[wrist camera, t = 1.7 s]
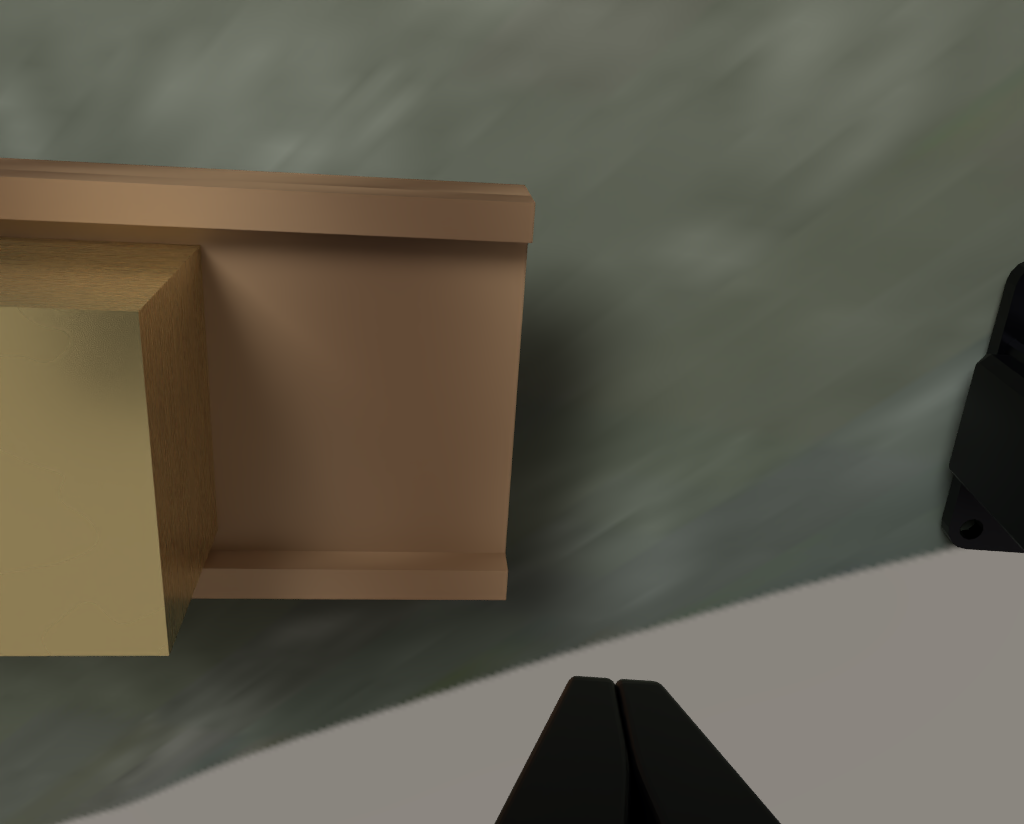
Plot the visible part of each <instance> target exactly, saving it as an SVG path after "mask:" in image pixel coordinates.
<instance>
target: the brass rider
mask: <svg viewBox="0 0 1024 824" xmlns="http://www.w3.org/2000/svg"><path fill="white" fill-rule="evenodd" d="M217 531H218V522H217V506H216V490H215V473H214V457H213V441H212V424H211V408H210V392H209V375H208V359H207V343H206V327H205V310H204V294H203V278H202V261H201V245H184V244H161V243H138V242H115V241H92V240H69V239H45V238H22V237H0V656H169V655H170V652H171V649H172V647H173V644H174V642H175V639H176V637H177V634H178V631H179V629H180V626H181V624H182V621H183V619H184V616H185V614H186V611H187V608H188V606H189V603H190V601H191V598H192V596H193V593H194V590H195V588H196V585H197V583H198V580H199V578H200V575H201V572H202V570H203V567H204V565H205V562H206V560H207V557H208V555H209V552H210V549H211V547H212V544H213V542H214V539H215V537H216V534H217Z"/></svg>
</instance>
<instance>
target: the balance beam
mask: <svg viewBox="0 0 1024 824" xmlns="http://www.w3.org/2000/svg"><path fill="white" fill-rule="evenodd" d="M534 214H535V202H534V200H533V198H532V197H531V195H530V193H529V192H528V190H527V188H526V187H525V185H515V184H495V183H476V182H457V181H437V180H418V179H399V178H379V177H360V176H341V175H321V174H302V173H283V172H263V171H244V170H225V169H205V168H186V167H167V166H147V165H128V164H109V163H89V162H70V161H51V160H31V159H12V158H0V237H22V238H45V239H69V240H92V241H115V242H138V243H161V244H184V245H201V261H202V278H203V294H204V310H205V327H206V343H207V359H208V375H209V392H210V408H211V424H212V441H213V457H214V473H215V490H216V506H217V522H218V531H217V534H216V537H215V539H214V542H213V544H212V547H211V549H210V552H209V555H208V557H207V560H206V562H205V565H204V567H203V570H202V572H201V575H200V578H199V580H198V583H197V585H196V588H195V590H194V593H193V596H192V598H201V599H399V600H506V592H507V579H508V567H507V561H506V554H505V550H506V536H507V523H508V509H509V495H510V481H511V467H512V453H513V439H514V425H515V412H516V398H517V384H518V370H519V356H520V342H521V328H522V315H523V301H524V287H525V273H526V259H527V245H528V243H532V241H533V228H534Z"/></svg>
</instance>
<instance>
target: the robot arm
mask: <svg viewBox="0 0 1024 824" xmlns="http://www.w3.org/2000/svg"><path fill="white" fill-rule="evenodd" d="M949 468H950V470H951V471H952V472H953V474H954V476H953V480H952V484H951V487H950V491H949V495H948V498H947V502H946V506H945V510H944V513H943V517H942V529H943V531H944V533H945V534H946V536H947V537H948V538H949V539H950V541H951V542H952V543H953V544H955V545H956V546H957V547H960V548H964V549H973V550H988V551H1003V552H1018V553H1024V262H1022V263H1020V264H1018V265H1017V266H1016V267H1015V268H1014V269H1013V270H1012V271H1011V273H1010V275H1009V277H1008V279H1007V281H1006V285H1005V289H1004V292H1003V296H1002V300H1001V303H1000V307H999V311H998V314H997V318H996V322H995V325H994V329H993V333H992V336H991V340H990V344H989V348H988V351H987V355H986V356H984V357H983V358H982V359H981V360H980V361H979V362H978V363H977V364H976V366H975V370H974V374H973V377H972V381H971V385H970V389H969V392H968V396H967V400H966V404H965V407H964V411H963V415H962V418H961V422H960V426H959V430H958V433H957V437H956V441H955V445H954V448H953V452H952V456H951V459H950V463H949ZM972 519H975V523H974V525H973V526H972V527H971V528H969V529H968V530H962V531H961V530H960V528H961V526H962V524H963V523H965V522H966V521H968V520H972ZM495 824H781V823H779V821H778V820H777V819H776V818H775V816H774V815H773V814H772V813H771V812H770V811H769V809H768V808H767V807H766V806H765V805H764V804H763V802H762V801H761V800H760V799H759V798H758V797H757V795H756V794H755V793H754V792H753V791H752V790H751V788H750V787H749V786H748V785H747V784H746V783H745V781H744V780H743V779H742V778H741V777H740V776H739V774H738V773H737V772H736V771H735V770H734V769H733V767H732V766H731V765H730V764H729V763H728V762H727V761H726V759H725V758H724V757H723V756H722V755H721V753H720V752H719V751H718V750H717V749H716V748H715V746H714V745H713V744H712V743H711V742H710V741H709V739H708V738H707V737H706V736H705V735H704V733H703V732H702V731H701V730H700V729H699V728H698V726H697V725H696V724H695V723H694V722H693V721H692V720H691V718H690V717H689V716H688V715H687V714H686V712H685V711H684V710H683V709H682V708H681V707H680V705H679V704H678V703H677V702H676V701H675V700H674V698H672V696H671V695H670V694H669V693H668V692H667V690H666V689H665V688H664V687H663V686H662V685H661V684H659V683H658V682H654V681H644V680H628V679H621V680H619V681H617V683H616V684H614V683H613V681H612V680H610V679H608V678H598V677H582V676H574V677H572V678H571V679H570V680H569V681H568V683H567V685H566V687H565V689H564V691H563V693H562V695H561V696H560V698H559V700H558V702H557V704H556V706H555V708H554V710H553V712H552V714H551V716H550V718H549V720H548V722H547V723H546V726H545V727H544V730H543V731H542V733H541V735H540V737H539V739H538V741H537V743H536V745H535V747H534V749H533V751H532V752H531V755H530V756H529V759H528V760H527V762H526V764H525V766H524V768H523V770H522V772H521V774H520V776H519V778H518V780H517V782H516V783H515V785H514V787H513V789H512V791H511V793H510V795H509V797H508V799H507V801H506V803H505V805H504V807H503V809H502V810H501V813H500V815H499V816H498V818H497V820H496V822H495Z"/></svg>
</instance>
